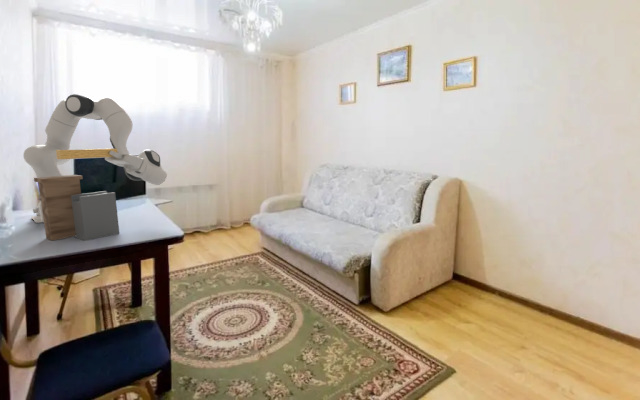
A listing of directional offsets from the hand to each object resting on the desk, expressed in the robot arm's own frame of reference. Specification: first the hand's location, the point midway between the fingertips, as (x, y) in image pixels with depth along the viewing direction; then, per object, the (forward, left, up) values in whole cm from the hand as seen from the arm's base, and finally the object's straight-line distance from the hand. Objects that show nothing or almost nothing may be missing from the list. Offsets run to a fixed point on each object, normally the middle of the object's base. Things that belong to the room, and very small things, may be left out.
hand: (106, 151), depth 154 cm
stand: (-10, -15, -36) cm, 41 cm away
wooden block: (0, -7, -2) cm, 8 cm away
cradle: (0, -7, -36) cm, 37 cm away
